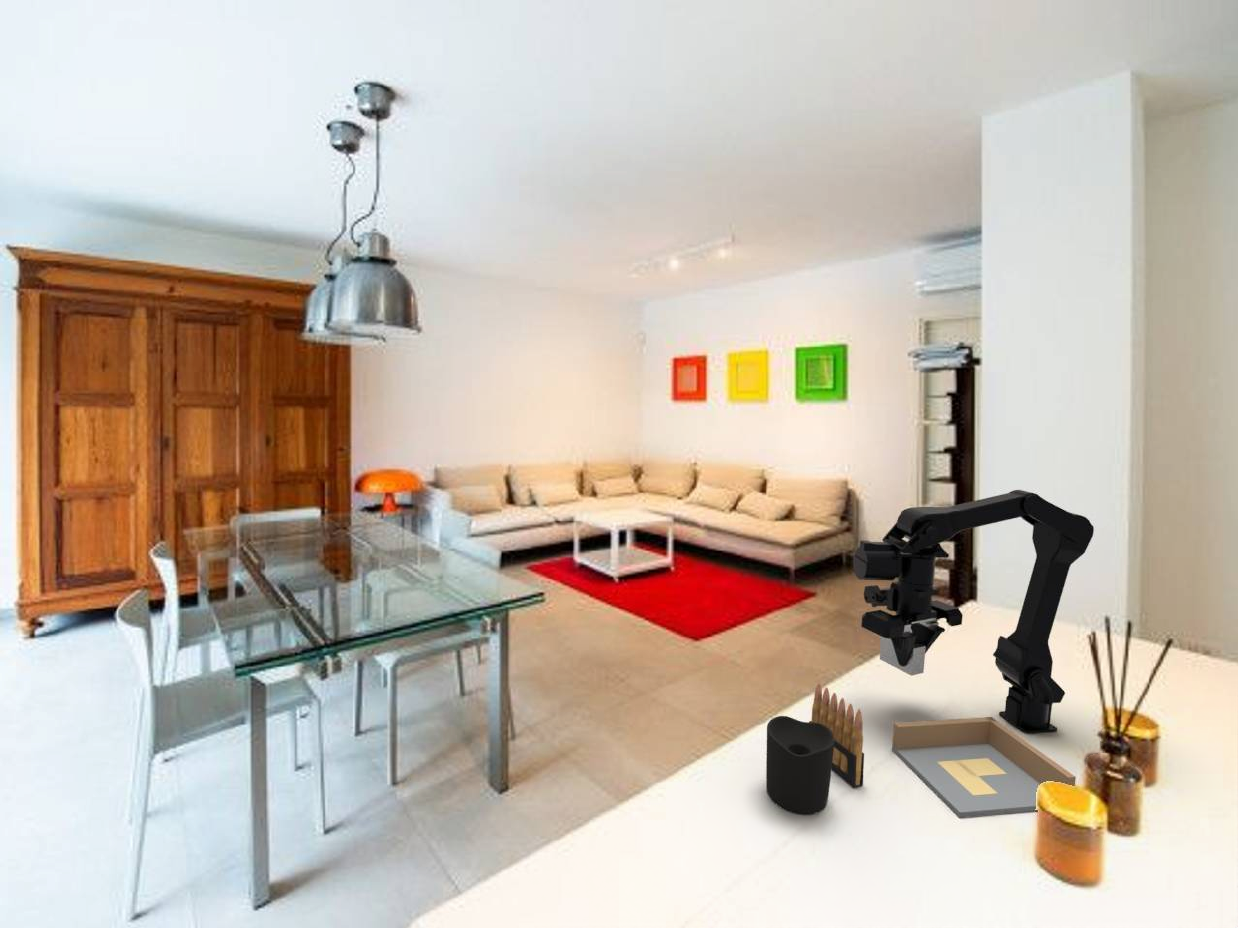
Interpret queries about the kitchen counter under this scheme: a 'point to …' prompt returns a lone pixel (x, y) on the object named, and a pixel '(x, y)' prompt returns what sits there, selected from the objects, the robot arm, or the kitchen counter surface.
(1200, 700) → the kitchen counter surface
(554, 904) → the kitchen counter surface
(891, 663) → the angle bracket
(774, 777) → the pen holder
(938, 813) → the kitchen counter surface
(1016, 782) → the arena
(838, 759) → the ammunition clip
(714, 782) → the kitchen counter surface
